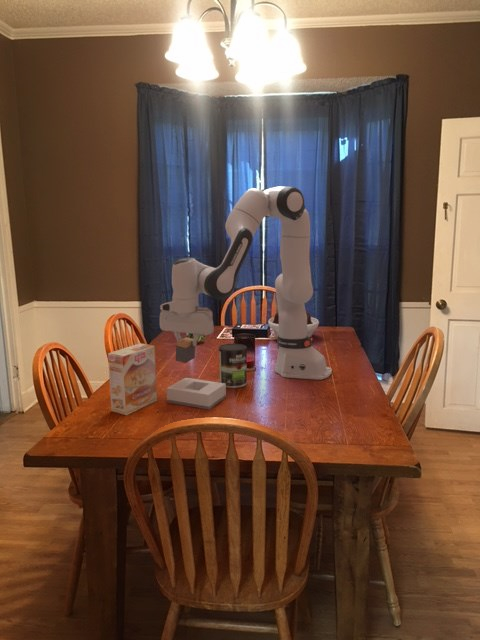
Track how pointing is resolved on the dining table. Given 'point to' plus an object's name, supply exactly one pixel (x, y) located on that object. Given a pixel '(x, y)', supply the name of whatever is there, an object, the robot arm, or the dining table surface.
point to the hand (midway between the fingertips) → (187, 344)
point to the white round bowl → (311, 324)
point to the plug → (185, 350)
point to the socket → (196, 393)
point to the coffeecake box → (132, 378)
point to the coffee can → (233, 365)
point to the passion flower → (190, 335)
